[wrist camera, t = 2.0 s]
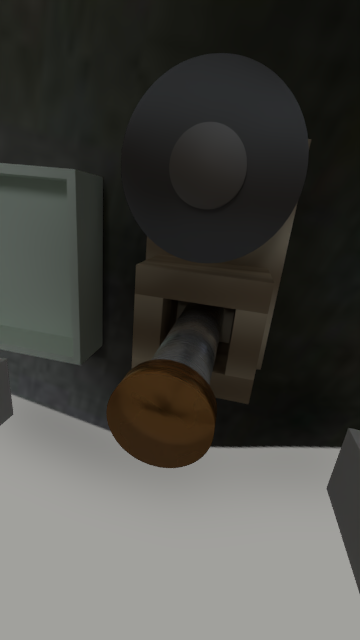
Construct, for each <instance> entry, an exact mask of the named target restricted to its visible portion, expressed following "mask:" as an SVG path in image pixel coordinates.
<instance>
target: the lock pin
mask: <svg viewBox="0 0 360 640" xmlns="http://www.w3.org/2000/svg"><path fill="white" fill-rule="evenodd" d="M223 319H224V308H223V307H218V306H211V305H205V304H198V303H192V302H189V303H188V304H187V306H186V307H185V309H184V310H183V312H182V313H181V315H180V316H179V318H178V319H177V321H176V322H175V324H174V326H173V327H172V329H171V330H170V332H169V333H168V335H167V336H166V338H165V339H164V341H163V342H162V344H161V345H160V347H159V348H158V350H157V351H156V353H155V354H154V356H153V358H152V359H151V360H149V361H145V362H143V363H140V364H138V365H137V366H135V367H134V368H132V369H131V370H130V371H129V372H128V373H127V374H126V376H125V377H124V378H123V380H122V381H121V382H120V384H119V385H118V386H117V388H116V389H115V390H114V392H113V393H112V395H111V397H110V399H109V401H108V405H107V421H108V425H109V428H110V430H111V432H112V434H113V436H114V438H115V439H116V441H117V442H118V443H119V444H120V446H121V447H122V448H123V449H124V450H125V451H127V452H128V453H129V454H130V455H132V456H133V457H135V458H136V459H138V460H140V461H142V462H145V463H147V464H150V465H153V466H157V467H163V468H178V467H183V466H187V465H189V464H192V463H194V462H196V461H197V460H199V459H200V458H201V457H203V456H204V454H205V453H206V452H207V451H208V449H209V448H210V446H211V443H212V440H213V436H214V429H215V422H216V415H217V403H216V398H215V395H214V393H213V391H212V389H211V387H210V381H211V376H212V371H213V366H214V362H215V357H216V352H217V348H218V343H219V338H220V333H221V329H222V324H223Z"/></svg>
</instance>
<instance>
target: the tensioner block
mask: <svg viewBox="0 0 360 640" xmlns="http://www.w3.org/2000/svg"><path fill="white" fill-rule="evenodd" d="M310 143H311V139H308V134H307V129H306V125H305V120H304V117H303V114H302V112H301V109H300V106H299V104H298V102H297V101H296V99H295V97H294V95H293V93H292V92H291V90H290V89H289V88H288V86H287V85H286V84H285V83H284V81H283V80H282V79H281V78H280V77H279V76H278V75H276V74H275V73H274V72H273V71H272V70H270V69H269V68H267V67H266V66H265V65H263V64H262V63H259V62H257V61H255V60H253V59H251V58H248V57H245V56H241V55H237V54H229V53H213V54H205V55H201V56H197V57H194V58H191V59H189V60H186V61H184V62H181V63H180V64H178V65H176V66H175V67H173V68H171V69H170V70H168V71H167V72H166V73H165V74H163V75H162V76H161V77H159V78H158V79H157V80H156V81H155V82H154V83H153V85H152V86H151V87H150V88H149V89H148V90H147V92H146V93H145V94H144V95H143V97H142V98H141V100H140V101H139V103H138V105H137V106H136V108H135V110H134V112H133V114H132V116H131V119H130V121H129V123H128V126H127V130H126V133H125V136H124V141H123V147H122V155H121V177H122V183H123V189H124V193H125V197H126V200H127V203H128V206H129V208H130V211H131V213H132V215H133V216H134V218H135V220H136V222H137V223H138V225H139V226H140V228H141V229H142V231H143V232H144V233H145V234H146V235H147V247H146V260H145V261H143V262H141V263H138V264H136V277H135V301H134V324H133V348H132V368H134V367H135V366H137V365H138V364H140V363H143V362H145V361H149V360H151V359H152V358H153V356H154V354H155V353H156V351H157V350H158V348H159V347H160V345H161V344H162V342H163V341H164V339H165V338H166V336H167V335H168V333H169V332H170V330H171V329H172V327H173V326H174V324H175V322H176V321H177V319H178V318H179V316H180V315H181V313H182V312H183V310H184V309H185V307H186V306H187V304H188V303H189V302H192V303H198V304H205V305H211V306H218V307H223V308H224V319H223V324H222V329H221V333H220V338H219V343H218V348H217V352H216V357H215V362H214V366H213V371H212V376H211V381H210V387H211V389H212V391H213V393H214V395H215V398H220V399H225V400H230V401H235V402H240V403H244V404H249V400H250V395H251V391H252V386H253V381H254V377H255V372H256V369H259V370H261V366H262V361H263V356H264V352H265V347H266V343H267V338H268V334H269V329H270V325H271V320H272V316H273V311H274V306H275V302H276V297H277V293H278V288H279V284H280V279H281V275H282V270H283V266H284V261H285V257H286V252H287V247H288V243H289V238H290V234H291V229H292V225H293V220H294V216H295V211H296V207H297V202H298V199H299V197H300V195H301V192H302V189H303V186H304V182H305V179H306V174H307V167H308V156H309V148H310Z"/></svg>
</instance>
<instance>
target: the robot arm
mask: <svg viewBox="0 0 360 640" xmlns="http://www.w3.org/2000/svg"><path fill="white" fill-rule="evenodd" d="M12 415H13V408H12V399H11V391H10V382H9V374H8V365H7V359H5V358H1V357H0V425H1V424H3V423H4V422H5V421H6V420H7V419H8V418H10V417H11V416H12ZM327 491H328V494H329V497H330V500H331V503H332V507H333V510H334V513H335V516H336V519H337V522H338V526H339V529H340V532H341V535H342V538H343V542H344V545H345V548H346V551H347V554H348V558H349V560H350V564H351V567H352V570H353V574H354V577H355V580H356V583H357V586H358V589H359V593H360V430H356V429H351V428H348V431H347V433H346V436H345V439H344V442H343V444H342V447H341V450H340V453H339V455H338V458H337V461H336V464H335V467H334V469H333V472H332V475H331V478H330V480H329V483H328V486H327Z"/></svg>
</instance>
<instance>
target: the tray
mask: <svg viewBox="0 0 360 640" xmlns="http://www.w3.org/2000/svg"><path fill="white" fill-rule="evenodd" d="M102 345H103V177H101V176H97V175H94V174H90V173H86V172H83V171H79V170H75V169H64V168H53V167H41V166H29V165H17V164H5V163H0V349H1V350H6V351H11V352H16V353H21V354H26V355H31V356H36V357H41V358H46V359H51V360H56V361H61V362H66V363H71V364H76V365H82V364H83V363H84V362H85V361H86V360H87V359H88V358H89V357H90V356H91V355H93V354H94V353H95V352H96V351H97V350H98V349H99V348H100V347H101V346H102Z"/></svg>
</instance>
